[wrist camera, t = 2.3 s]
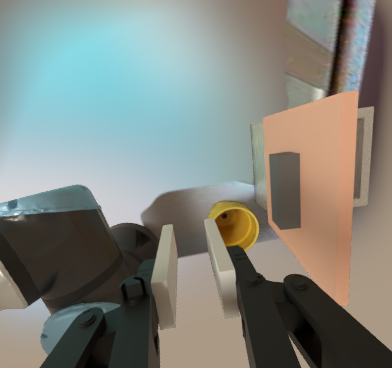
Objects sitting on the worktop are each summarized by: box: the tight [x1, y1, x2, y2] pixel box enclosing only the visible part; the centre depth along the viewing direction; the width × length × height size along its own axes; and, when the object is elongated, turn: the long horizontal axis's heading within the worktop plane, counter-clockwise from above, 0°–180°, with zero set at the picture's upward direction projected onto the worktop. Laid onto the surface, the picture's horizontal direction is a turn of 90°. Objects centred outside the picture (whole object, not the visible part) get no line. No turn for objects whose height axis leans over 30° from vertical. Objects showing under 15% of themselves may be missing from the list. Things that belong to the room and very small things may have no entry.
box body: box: [250, 107, 374, 212], centre depth 41 cm, size 18×18×11 cm
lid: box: [263, 90, 358, 306], centre depth 26 cm, size 19×19×4 cm
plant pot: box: [208, 201, 259, 251], centre depth 44 cm, size 10×10×10 cm
